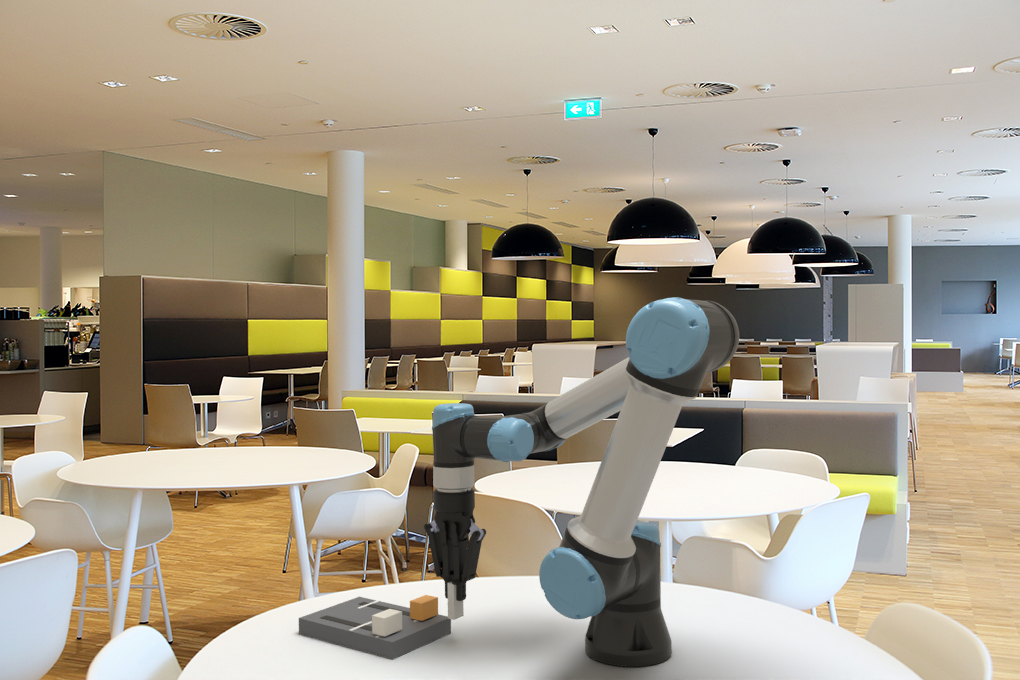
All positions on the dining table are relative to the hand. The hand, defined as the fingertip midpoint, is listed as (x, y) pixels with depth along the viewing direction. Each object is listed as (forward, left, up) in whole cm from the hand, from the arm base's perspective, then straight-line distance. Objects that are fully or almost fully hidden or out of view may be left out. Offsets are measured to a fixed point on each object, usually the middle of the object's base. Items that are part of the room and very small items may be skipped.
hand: (455, 617), depth 160 cm
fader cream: (+8, +10, -1) cm, 13 cm away
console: (+16, +5, -5) cm, 17 cm away
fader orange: (+8, 0, -1) cm, 8 cm away
